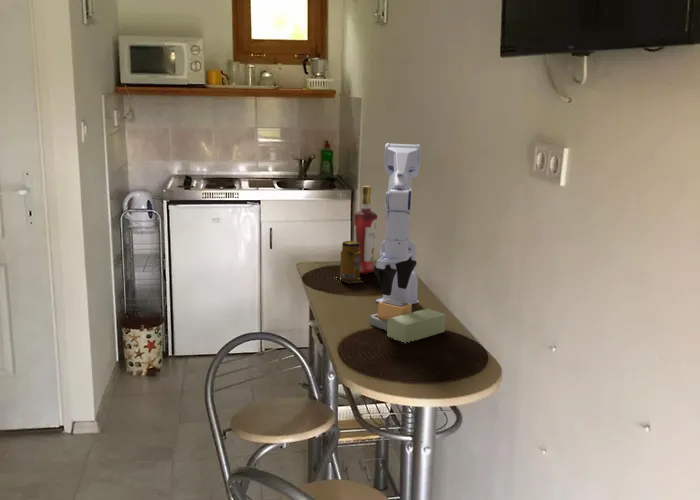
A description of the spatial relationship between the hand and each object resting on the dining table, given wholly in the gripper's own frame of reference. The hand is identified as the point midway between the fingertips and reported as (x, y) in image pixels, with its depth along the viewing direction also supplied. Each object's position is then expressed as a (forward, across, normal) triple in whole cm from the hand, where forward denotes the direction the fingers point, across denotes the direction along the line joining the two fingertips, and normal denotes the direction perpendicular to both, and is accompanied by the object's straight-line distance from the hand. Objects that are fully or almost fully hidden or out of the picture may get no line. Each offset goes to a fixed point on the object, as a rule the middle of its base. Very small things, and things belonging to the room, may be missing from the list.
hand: (394, 291), depth 177 cm
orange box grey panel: (+9, 0, 0) cm, 9 cm away
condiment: (+9, -28, -33) cm, 44 cm away
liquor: (+9, -38, -35) cm, 53 cm away
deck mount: (+9, +1, +3) cm, 9 cm away
